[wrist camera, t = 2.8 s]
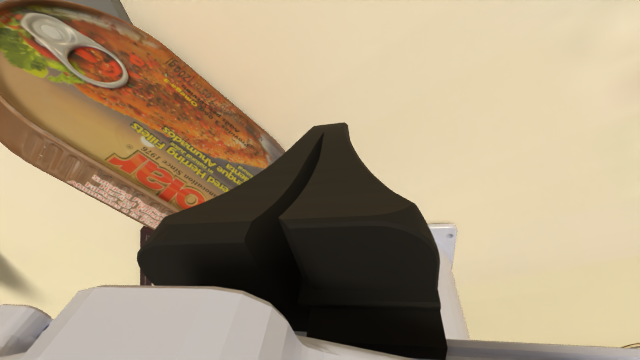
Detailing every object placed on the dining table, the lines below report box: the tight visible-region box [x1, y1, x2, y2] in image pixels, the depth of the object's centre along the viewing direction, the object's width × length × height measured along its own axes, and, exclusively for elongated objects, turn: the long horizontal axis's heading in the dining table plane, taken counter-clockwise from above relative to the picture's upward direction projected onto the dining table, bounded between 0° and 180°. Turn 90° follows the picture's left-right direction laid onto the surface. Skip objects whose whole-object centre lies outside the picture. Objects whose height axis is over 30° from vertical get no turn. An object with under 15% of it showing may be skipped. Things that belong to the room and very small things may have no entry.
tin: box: [0, 0, 285, 230], centre depth 14 cm, size 15×3×8 cm, turn 43°
